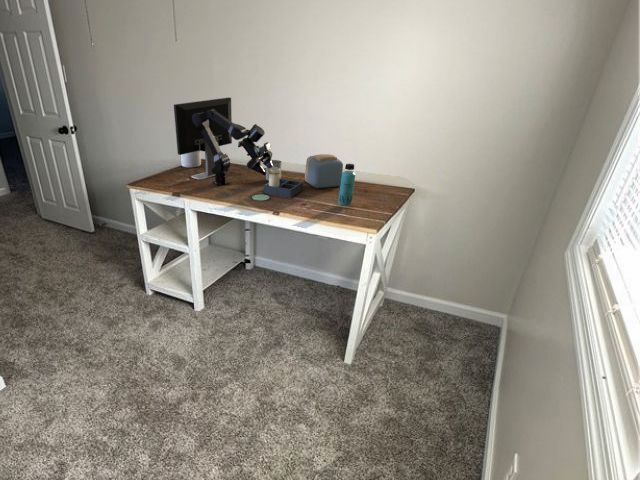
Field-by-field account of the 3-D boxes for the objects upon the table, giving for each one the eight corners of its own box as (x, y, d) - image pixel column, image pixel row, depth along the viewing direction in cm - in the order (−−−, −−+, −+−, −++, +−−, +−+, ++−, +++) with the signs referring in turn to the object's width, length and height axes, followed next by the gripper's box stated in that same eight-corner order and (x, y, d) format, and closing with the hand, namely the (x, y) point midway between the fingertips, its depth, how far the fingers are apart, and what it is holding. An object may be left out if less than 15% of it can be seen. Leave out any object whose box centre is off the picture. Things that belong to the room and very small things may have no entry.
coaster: (248, 196, 214) (248, 196, 213) (263, 194, 217) (263, 193, 217) (257, 202, 207) (257, 201, 207) (272, 199, 210) (272, 198, 210)
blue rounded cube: (328, 178, 240) (331, 150, 231) (343, 187, 227) (346, 156, 218) (302, 181, 236) (305, 152, 227) (315, 189, 223) (318, 159, 214)
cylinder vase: (202, 163, 272) (200, 122, 259) (199, 168, 261) (196, 125, 248) (183, 162, 273) (180, 121, 260) (179, 167, 262) (176, 125, 249)
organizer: (263, 193, 218) (263, 185, 216) (276, 185, 229) (276, 177, 227) (290, 198, 211) (290, 189, 209) (302, 190, 223) (303, 181, 220)
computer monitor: (227, 166, 264) (226, 97, 243) (237, 169, 259) (236, 98, 238) (177, 180, 239) (170, 104, 218) (186, 183, 234) (181, 105, 213)
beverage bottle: (335, 204, 203) (340, 162, 193) (349, 203, 204) (354, 162, 193) (339, 208, 198) (344, 166, 187) (353, 208, 198) (359, 165, 188)
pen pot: (266, 191, 220) (267, 168, 214) (275, 189, 222) (276, 166, 216) (272, 194, 216) (272, 170, 209) (281, 192, 218) (282, 169, 212)
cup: (279, 182, 235) (280, 163, 230) (265, 181, 237) (265, 163, 231) (281, 177, 242) (282, 160, 237) (267, 177, 244) (267, 159, 238)
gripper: (252, 141, 202) (271, 167, 203) (269, 134, 215) (288, 158, 216) (238, 156, 209) (257, 181, 210) (256, 148, 223) (273, 172, 224)
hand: (269, 172), depth 215 cm, fingers open, 9 cm apart
